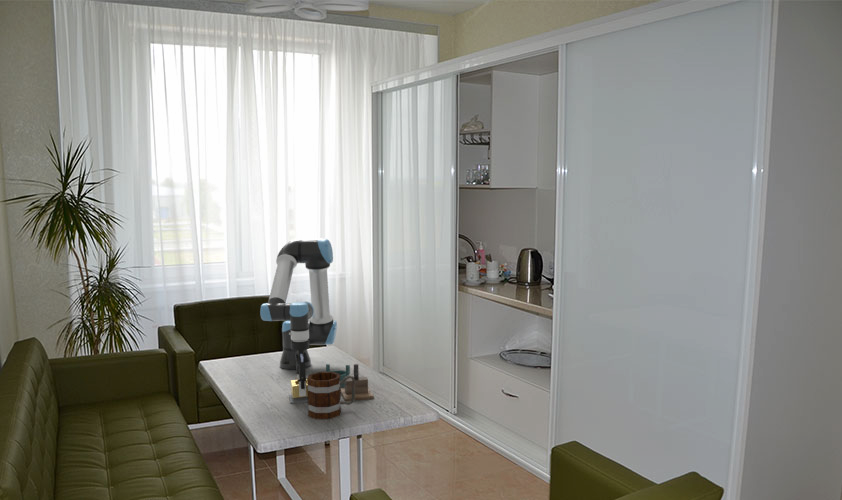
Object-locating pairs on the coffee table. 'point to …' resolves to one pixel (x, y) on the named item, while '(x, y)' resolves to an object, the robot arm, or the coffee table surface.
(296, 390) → the hollow wooden square frame
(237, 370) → the coffee table surface
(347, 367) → the bracket
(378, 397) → the coffee table surface
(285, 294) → the robot arm
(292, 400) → the felt mat
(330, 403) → the mug
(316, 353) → the coffee table surface
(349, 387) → the post stand
